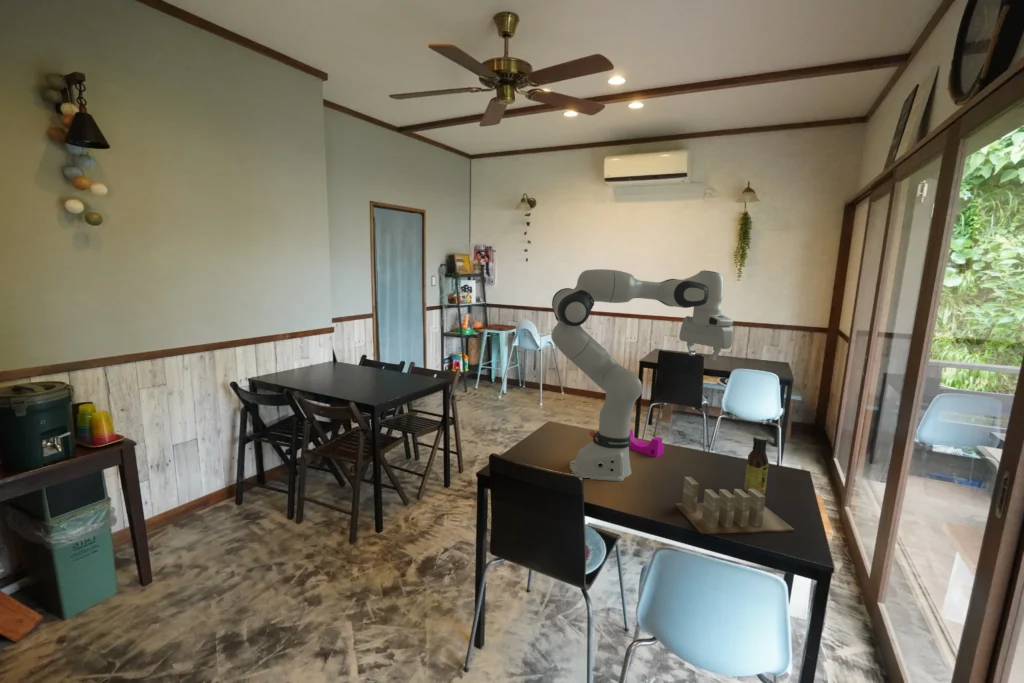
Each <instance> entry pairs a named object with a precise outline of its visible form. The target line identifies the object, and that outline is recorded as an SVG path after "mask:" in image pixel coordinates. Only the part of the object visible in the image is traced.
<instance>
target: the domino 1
mask: <svg viewBox="0 0 1024 683" xmlns="http://www.w3.org/2000/svg"><path fill="white" fill-rule="evenodd" d="M699 485H700V484H699V483H698V482H697V481H696V480H695V479H694V478H693V477H692V476H684V478H683V490H682V491H683V493H682V500H681V501H682V502H681V503H682V504H683V505H684V507H685V508H686V509H687V510H688V511H689V512H696V508H697V503H698V498H699V497H698V496H699Z"/></svg>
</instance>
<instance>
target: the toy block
mask: <svg viewBox="0 0 1024 683" xmlns="http://www.w3.org/2000/svg"><path fill="white" fill-rule="evenodd" d="M633 431H634V430H632V429H630V435H631V444H630V449H629V450H631V449H632V451H635V452H637V453H641V454H644V455H648V456H650V457H654V458H658V457H660V456H662V455H663V454H664V453H665V443H663V438H662V437H658V436H655V437H653V438H651V440H650V442H645V441H644V440H642V439H639V440H640V441H639V440H637V438H636V437H635V435H634V432H633ZM641 440H642V441H641Z"/></svg>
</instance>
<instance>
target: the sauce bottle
mask: <svg viewBox="0 0 1024 683" xmlns="http://www.w3.org/2000/svg"><path fill="white" fill-rule="evenodd" d="M752 440H753V443H752V450H751V451H750V452H749V454H748V456H747V463H746V468H745V478H744V489H743V491H744V492H745V493H746V494H747V495H748V489H756V490H757V491H758V492H760V493H761V494H762V495H764V496H765V494H766V490H767V481H768V472H769V464H770V463H769V459H768V454H767V444H768V438H767V437H765V436H762V435H754V436H753V439H752ZM765 497H766V496H765Z"/></svg>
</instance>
